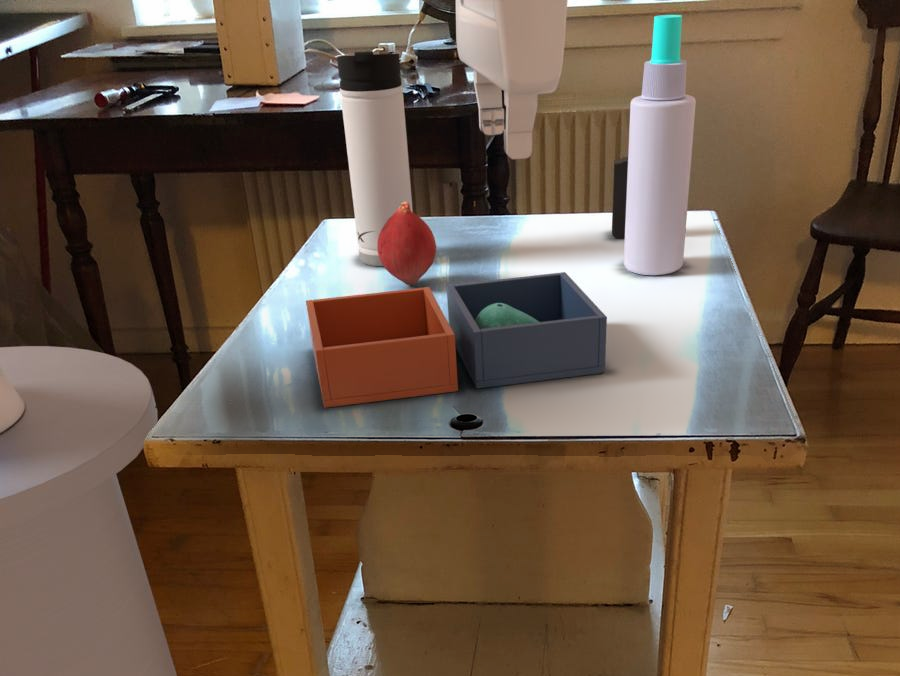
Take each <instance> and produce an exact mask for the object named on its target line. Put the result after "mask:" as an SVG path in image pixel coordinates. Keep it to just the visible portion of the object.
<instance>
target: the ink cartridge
mask: <svg viewBox="0 0 900 676" xmlns="http://www.w3.org/2000/svg"><path fill="white" fill-rule="evenodd" d="M627 174H628V156H623V157H621V158H617V159H614V161H613V183H612V184H613V185H612V187H613V188H612V215H611V236H612V237H613V238H614V239H617V240H622V239H623V240H625V221H626V198H627Z"/></svg>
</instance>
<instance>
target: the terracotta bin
mask: <svg viewBox="0 0 900 676" xmlns="http://www.w3.org/2000/svg"><path fill="white" fill-rule="evenodd" d="M305 305H306V311H307V318H308V325H309V331H310V338H311V344H312V352H313V356H314V362H315V367H316V372H317V377H318V378H317V379H318V382H319V388H320V393H321V399H322V404H323V408H325V409H326V408H333V407H334V408H335V407H342V406H350V405H357V404H366V403H367V404H368V403H375V402H382V401H390V400H398V399H406V398H413V397H422V396H429V395H431V396H432V395H437V394H445V393H454V392H459V385H458V365H457V353H456V352H457V349H456V348H455V335H454V333H453V331H452V329H451V327H450V325H449V321H448V320H447V318H446V316H445V314H444V312H443V310H442V308H441V306H440V304H439V303H438V301H437V299H436V297H435V295H434V294H433V292H432V290H431V288H430V287H429V286H426V287H425V286H424V287H418V288H417V287H416V288H407V289H400V290H389V291H381V292H380V291H379V292H372V293H363V294H362V293H361V294H354V295H345V296H344V295H343V296H335V297H326V298H317V299H307V300H305Z"/></svg>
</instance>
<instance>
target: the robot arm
mask: <svg viewBox="0 0 900 676" xmlns="http://www.w3.org/2000/svg"><path fill="white" fill-rule="evenodd" d="M567 13H568V0H455V41H456V50H457V55H458V58H459V61H460V62H461V63H463V64H464V65H466V66H468V67H469V68H470V69H472V71H473V73H472V74H473V86H474V91H475V96H476V102H477V109H478V126H479V131H481V132H482V133H483V134H484V135H486V136H498V135H502V134H503V151H504V153H505V154H506V155H507V157H509V158H510V159H511V160H522V159H523V160H524V159H525V160H526V159H528V158H530V157H531V156H532V153H533V130H534V125H535V121H536V116H537V111H538V107H539V101H538V100H539V95H543V94H544V95H545V94H551V93H554V92H555V91H556V90H557V88H558V85H559V83H560V78H561V76H562V70H563V63H564V55H565V41H566V30H567V16H568V14H567ZM502 91H503V93H502ZM503 98H504V99H503ZM503 100H504V102H503ZM503 103H504V106H505V109H504V108H503ZM24 409H25V403H24V401H23V399H22V398H21V397H20V395H19V394H18V393H17V391H16V390H15V389H14V387H13V386H12V384H11V383H10V381H9V380H8V378H7V377H6V375H5V373H4V372H3V370H2V369H1V367H0V433H1V432H3V431H5V430H6V429H8V428H9V427H10V426H12V425H13V424H14V423H15V422H16V421H17V420H18V419H19V418H20V417H21V415H22V414H23V412H24Z"/></svg>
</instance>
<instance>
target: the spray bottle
mask: <svg viewBox="0 0 900 676" xmlns="http://www.w3.org/2000/svg"><path fill="white" fill-rule="evenodd" d="M682 25H683V15H681V14H662V15H655V16H654V17H653V32H652V42H651V43H652V46H651V59H650V60H647V61H644V64H643V73H642V74H643V75H642V85H641V86H642V87H641V95H638V96H635V97H633V98H632V99H631V100H630V105H629V107H630V108H629V129H628V130H629V131H628V150H627V151H628V153H627V155H628V156H627V157H628V174H627V198H626V221H625V238H624V245H623V247H624V248H623V265H624V266H623V267H624V268H625V269H626V270H628V271H629V272H631V273H633V274H634V273H635V274H637V275H643V276H662V275H668V274H672V273H675V272H677V271H679V270H680V269H681V268H682V266H683V265H684V258H685V257H684V256H685V243H686V233H687V230H686V229H687V217H688V206H689V194H690V193H689V192H690V180H691V168H692V167H691V166H692V155H693V141H694V128H695V115H696V105H697V103H696V102H697V101H696V98H695V97H694V96H692V95H690V94H687V93H686V92H687V89H686V88H687V60H685V59H681V45H682Z"/></svg>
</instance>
